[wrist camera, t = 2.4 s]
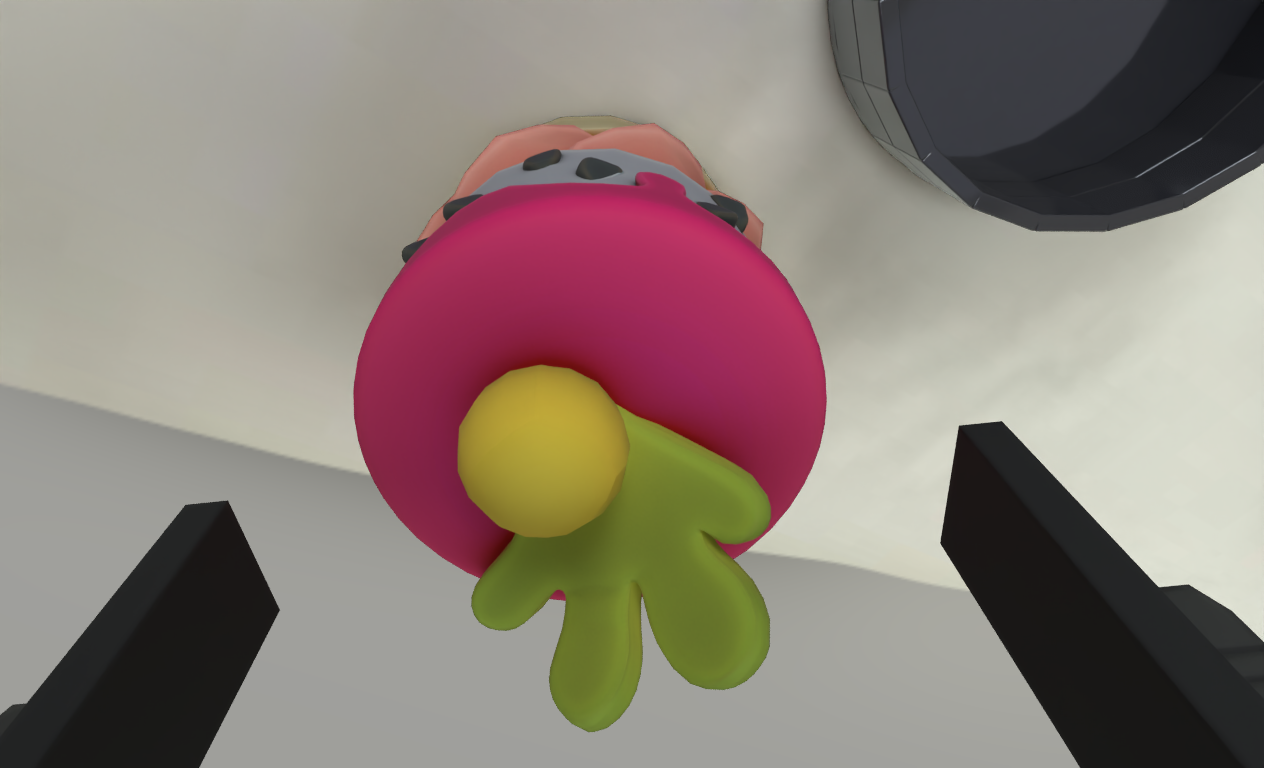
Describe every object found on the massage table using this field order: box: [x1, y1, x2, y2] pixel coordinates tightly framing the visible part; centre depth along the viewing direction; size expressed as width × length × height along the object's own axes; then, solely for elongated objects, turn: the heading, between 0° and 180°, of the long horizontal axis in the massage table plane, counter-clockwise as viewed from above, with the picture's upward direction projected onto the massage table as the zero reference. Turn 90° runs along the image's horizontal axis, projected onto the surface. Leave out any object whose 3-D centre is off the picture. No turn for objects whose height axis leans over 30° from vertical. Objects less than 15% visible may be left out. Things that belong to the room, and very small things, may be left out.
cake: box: [354, 116, 827, 732], centre depth 18 cm, size 10×10×15 cm
